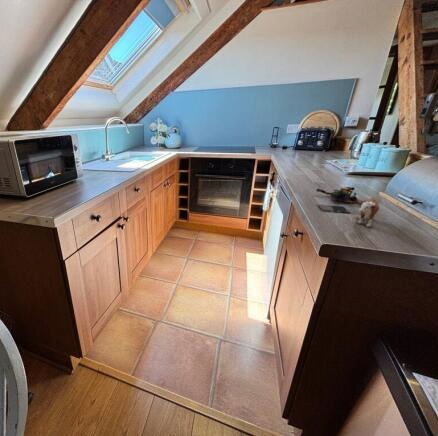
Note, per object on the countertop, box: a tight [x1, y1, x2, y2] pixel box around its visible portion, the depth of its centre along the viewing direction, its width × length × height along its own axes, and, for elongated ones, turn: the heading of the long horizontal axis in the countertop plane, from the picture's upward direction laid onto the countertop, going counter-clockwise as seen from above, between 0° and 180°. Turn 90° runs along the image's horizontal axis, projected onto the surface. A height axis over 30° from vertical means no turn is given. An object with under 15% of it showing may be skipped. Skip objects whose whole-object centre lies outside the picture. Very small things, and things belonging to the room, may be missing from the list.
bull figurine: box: [357, 197, 380, 228], centre depth 78 cm, size 4×13×8 cm, turn 131°
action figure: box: [316, 186, 366, 204], centre depth 100 cm, size 6×15×15 cm
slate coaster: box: [318, 204, 350, 214], centre depth 91 cm, size 8×6×1 cm
